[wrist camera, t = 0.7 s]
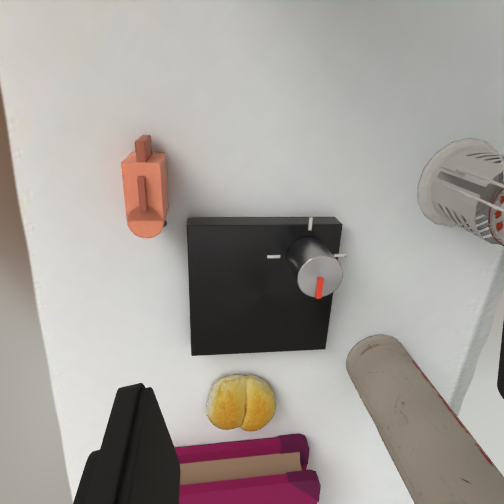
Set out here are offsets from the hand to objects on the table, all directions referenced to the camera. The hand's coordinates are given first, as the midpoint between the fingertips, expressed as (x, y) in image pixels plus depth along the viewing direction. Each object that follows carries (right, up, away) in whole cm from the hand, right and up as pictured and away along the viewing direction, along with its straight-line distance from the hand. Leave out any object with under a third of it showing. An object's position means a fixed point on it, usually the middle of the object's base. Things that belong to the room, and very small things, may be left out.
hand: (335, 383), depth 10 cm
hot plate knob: (+4, +3, +31) cm, 31 cm away
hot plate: (-1, 0, +34) cm, 34 cm away
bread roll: (-4, -16, +41) cm, 44 cm away
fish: (-12, +11, +28) cm, 32 cm away
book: (-5, -36, +50) cm, 61 cm away
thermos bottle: (+14, -11, +41) cm, 45 cm away
